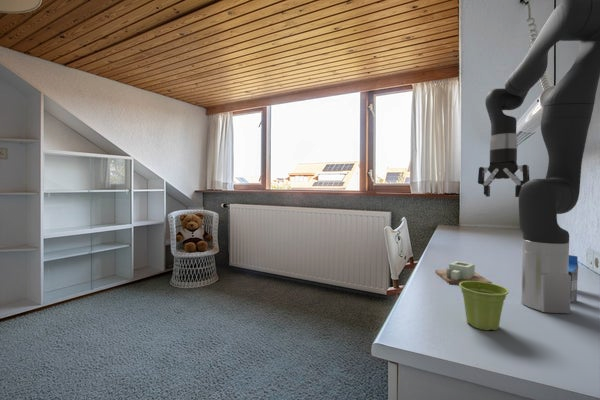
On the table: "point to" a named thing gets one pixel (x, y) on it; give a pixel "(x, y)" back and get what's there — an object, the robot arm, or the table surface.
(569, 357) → the table surface
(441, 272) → the locating plate
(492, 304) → the plant pot
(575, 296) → the label tape box
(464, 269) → the square ring with handle
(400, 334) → the table surface
